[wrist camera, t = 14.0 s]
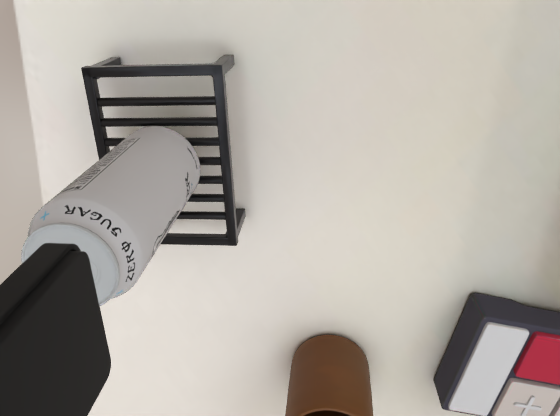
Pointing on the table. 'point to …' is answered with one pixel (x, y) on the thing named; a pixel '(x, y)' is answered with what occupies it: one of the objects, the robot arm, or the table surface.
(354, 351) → the mug
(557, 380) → the calculator
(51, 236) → the energy drink can
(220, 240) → the rack
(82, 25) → the table surface
